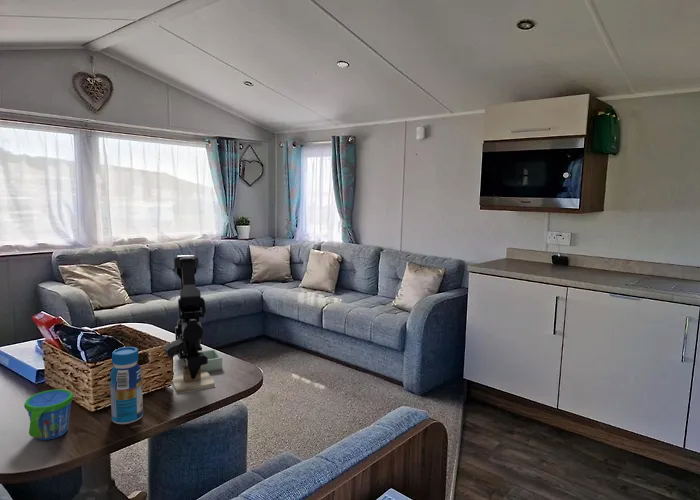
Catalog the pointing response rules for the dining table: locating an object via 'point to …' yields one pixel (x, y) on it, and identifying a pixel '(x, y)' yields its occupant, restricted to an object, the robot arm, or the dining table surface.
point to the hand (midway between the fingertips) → (192, 376)
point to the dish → (212, 361)
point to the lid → (192, 380)
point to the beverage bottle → (126, 386)
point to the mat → (190, 390)
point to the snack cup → (49, 413)
